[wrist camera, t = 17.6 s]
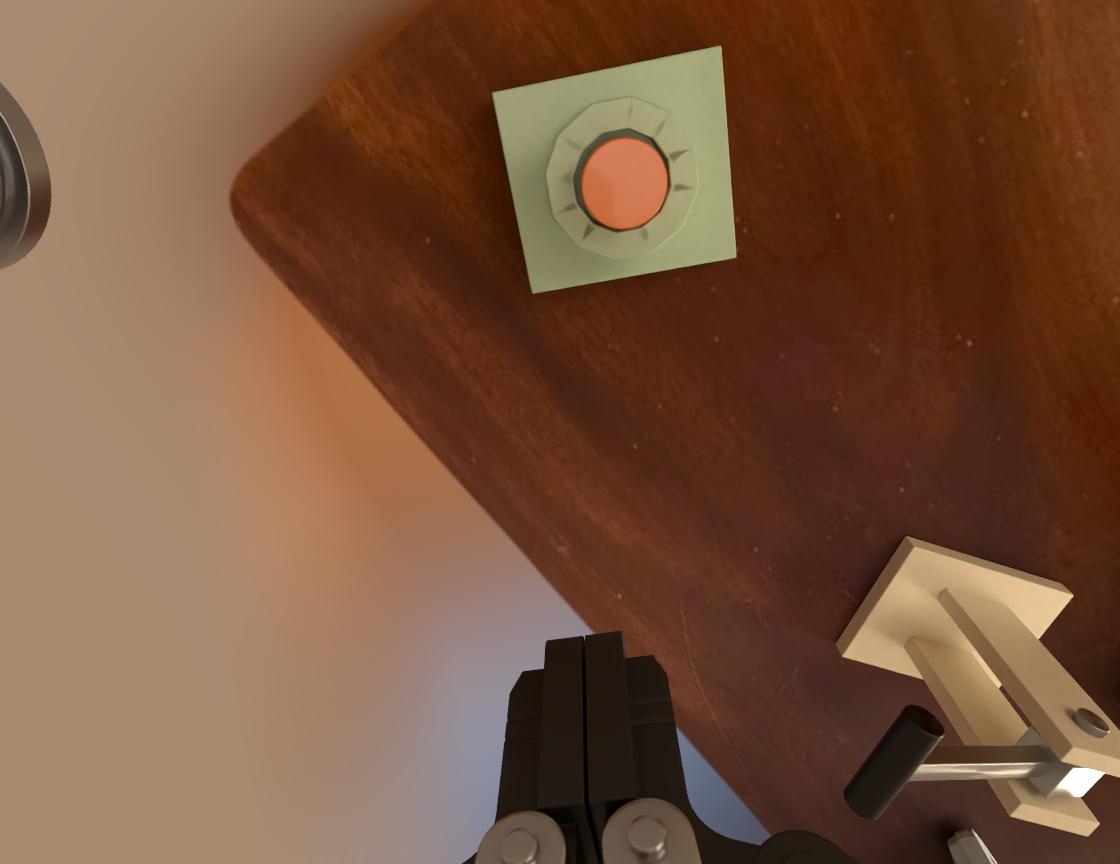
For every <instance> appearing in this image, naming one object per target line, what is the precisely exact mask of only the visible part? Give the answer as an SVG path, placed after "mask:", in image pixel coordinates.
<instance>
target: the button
mask: <svg viewBox="0 0 1120 864" xmlns="http://www.w3.org/2000/svg"><path fill="white" fill-rule="evenodd" d="M667 184H668V180H667V172H666V168H665V165H664V162H663V160H662V158H661V157H660V155H659V154H658V153H657V151H656V150H655V149H654V148H653V147H651V146H650V145H649V144H647V143H646V142H644V141H642V140H639V139H636V138H631V137H615V138H611V139H609V140H606V141H604V142H603V143H601V144H599V145H598V146H597V147H596V148H595V149H594V150H593V151H592V152H591V153H590V155H589V156H588V158H587V159H586V161H585V163H584V166H583V169H582V173H581V193H582V197H583V200H584V203H585V205H586V207H587V209H588V211H589V212H590V213H591V215H592V216H593V217H594V218H595V219H596V220H598V221H599V222H600V223H602V224H604V225H606V226H608V227H611V228H615V229H630V228H634V227H637V226H640V225H642V224H644V223H645V222H647V221H648V220H650V219H651V218H652V217H653V216H654V215H655V214H656V213H657V211H658V210H659V208H660V207H661V205H662V203H663V201H664V198H665V196H666V191H667Z"/></svg>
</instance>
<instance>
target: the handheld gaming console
mask: <svg viewBox="0 0 1120 864" xmlns="http://www.w3.org/2000/svg"><path fill="white" fill-rule="evenodd" d="M947 844H948V847H949V849H950V852H951V854H952V857H953V860H954V862H955V864H997V862H996V861H995V859H994V858H993V856H992V855H991V854H990V852H989V851H988V849H987V848H986V846H985V845H984V843H983V842H982V841H981V839H980V838H979V837H978V836H977V834H976V833H975V832H974V831H973V829H972V828H971V829H969V830H966V829H963V830H961V831H958V832H955V835H954V836H953V837H951V838H950V839H948V840H947Z"/></svg>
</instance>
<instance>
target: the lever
mask: <svg viewBox="0 0 1120 864" xmlns="http://www.w3.org/2000/svg"><path fill="white" fill-rule="evenodd" d="M944 735H945V730H944V727H943V726H942V724H941V722H940V721H939V720H938V719H937V718H936V717H935V716H934V715H933V714H932V713H930V712H929V711H927V710H926V709H924V708H922V707H920V706H918V705H914V704H909V705H907V706H906V707H905V708H904V709H903V711H902V712H901V713H900V715H899V716H898V717H897V719H896V720H895V721H894V723H893V724H892V725H891V727H890V728H889V729H888V731H887V732H886V734H885V735H884V736H883V738H882V739H881V740H880V742H879V743H878V744H877V746H876V747H875V748H874V750H873V751H872V752H871V754H870V755H869V756H868V758H867V759H866V760H865V762H864V763H863V764H862V766H861V767H860V769H859V770H858V771H857V773H856V774H855V775H854V777H853V778H852V779H851V781H850V782H849V783H848V785H847V786H846V787H845V789H844V798H845V800H846V802H847V804H848V805H849V807H850V808H851V809H852V810H853V811H854V812H855V813H856V814H857V815H859V816H860V817H862V818H864V819H866V820H869V821H875V820H877V819H878V818H879V817H880V816H881V814H882V813H883V812H884V811H885V809H886V808H887V807H888V806H889V804H890V803H891V802H892V801H893V799H894V798H895V797H896V796H897V794H898V793H899V792H900V791H901V789H902V788H903V787H904V785H905V784H906V783H907V782H908V781H926V780H963V779H1000V778H1027V779H1028V780H1029V781H1030V782H1031V783H1032V784H1033V785H1034V786H1035V788H1036V789H1037V790H1038V791H1039V792H1040V793H1041V794H1042V795H1043V796H1044V797H1045V798H1056V797H1079V796H1083V795H1084V794H1085V793H1086V791H1087V790H1088V789H1089V788H1090V787H1091V786H1092V785H1093V784H1094V783H1095V782H1096V781H1097V780H1098V779H1099V778H1100V777H1101V776H1102V775H1103V774H1104V773H1102V772H1098V771H1095V770H1091V769H1087V768H1084V767H1080V766H1076V765H1073V764H1069V763H1065V762H1062V761H1060V760H1059V759H1058V757H1057V756H1056V755H1055V753H1054V752H1053V751H1052V750H1051V748H1050V747H1049V746H1048V744H1047V743H1046V742H1045V740H1044V739H1043V738H1042V736H1041V735H1040V734H1039V732H1038V731H1037V730H1036V729H1035V727H1034V726H1030V727H1029V728H1028V730H1027V731H1026V732H1025V733H1024V734H1023V735H1022V737H1021V738H1020V739H1019V740H1018V741H1017V742H1016V744H1015V745H937V744H938V743H939V741H940V740H941V739H942V738H943V736H944Z"/></svg>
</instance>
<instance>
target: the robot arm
mask: <svg viewBox="0 0 1120 864" xmlns="http://www.w3.org/2000/svg"><path fill="white" fill-rule="evenodd" d="M2 196H3V189H2V179H1V173H0V211H1V206H2ZM507 718H508V722H507V724H506V733H505V742H504V751H503V759H502V769H501V778H500V786H499V795H498V804H497V814H496V819H495V823H494V825H493V826H492V827H491V828H490V829H489V831H488V832H487V833H486V834H485V836H484V837H483V839H482V841H481V843H480V846H479V848H478V852H476V853H475V854H474V855H473V856H472V857H471V858H470V859H468V860H467V861H465V862H464V863H463V864H859V863H858V862H857V861H856V860H854V859H853V858H852V857H850V856H849V855H848V854H847V853H845V852H844V851H843V850H841V849H840V848H839V847H838V846H836V845H835V844H834V843H832V842H831V841H829V840H828V839H826V838H824V837H822V836H820V835H818V834H815V833H811V832H808V831H802V830H789V831H783V832H780V833H777V834H775V835H773V836H771V837H770V838H768V839H767V840H766V841H765V842H764V843H763V844H762V845H761V846H759V845H755V844H751V843H746V842H742V841H738V840H734V839H730V838H727V837H725V836H723V835H720V834H718V833H716V832H715V831H713V830H712V829H710V828H709V827H708V826H706V825H705V824H704V823H703V822H702V821H701V820H700V819H699V817H698V816H697V815H696V813H695V812H694V810H693V809H692V807H691V804H690V802H689V799H688V795H687V790H686V784H685V778H684V772H683V767H682V761H681V755H680V749H679V743H678V737H677V731H676V725H675V719H674V713H673V707H672V702H671V696H670V690H669V684H668V678H667V674H666V672H665V671H664V670H663V668H662V667H661V666H660V664H659V663H658V662H657V660H656V659H655V658H654V656H653V655H649V656H641V657H633V658H627V654H626V649H625V643H624V638H623V633H622V631H616V632H608V633H600V634H593V635H586V636H585V640H584V637H583V636H579V637H571V638H563V639H555V640H547V641H546V646H545V662H544V669H538V670H530V671H523V672H522V674H521V675H520V677H519V679H518V680H517V682H516V684H515V686H514V687H513V689H512V691H511V692H510V697H509V706H508V715H507Z"/></svg>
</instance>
